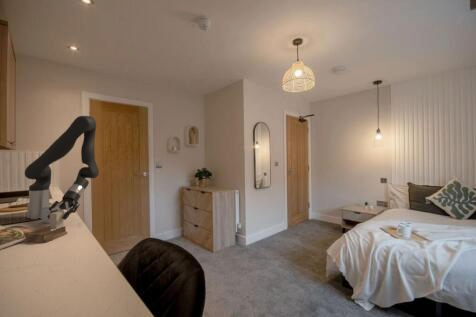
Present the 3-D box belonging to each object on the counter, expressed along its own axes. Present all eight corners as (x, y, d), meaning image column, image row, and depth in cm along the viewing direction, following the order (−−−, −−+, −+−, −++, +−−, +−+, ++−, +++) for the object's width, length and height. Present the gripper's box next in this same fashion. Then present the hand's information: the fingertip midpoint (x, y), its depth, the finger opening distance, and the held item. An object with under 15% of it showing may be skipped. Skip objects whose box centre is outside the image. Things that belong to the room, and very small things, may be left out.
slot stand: (23, 241, 98) (23, 233, 97) (47, 233, 108) (47, 225, 108) (45, 242, 97) (45, 234, 97) (67, 233, 108) (67, 226, 107)
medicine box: (60, 221, 128) (60, 206, 128) (53, 223, 123) (53, 208, 123) (48, 220, 129) (48, 206, 128) (41, 222, 124) (41, 207, 124)
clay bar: (49, 228, 115) (49, 213, 115) (56, 226, 119) (56, 211, 119) (56, 228, 115) (56, 213, 115) (63, 226, 119) (63, 211, 119)
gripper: (58, 189, 126) (39, 214, 114) (81, 190, 125) (64, 215, 113) (66, 197, 131) (48, 221, 120) (88, 197, 130) (72, 222, 119)
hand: (56, 218), depth 117 cm, fingers open, 8 cm apart
